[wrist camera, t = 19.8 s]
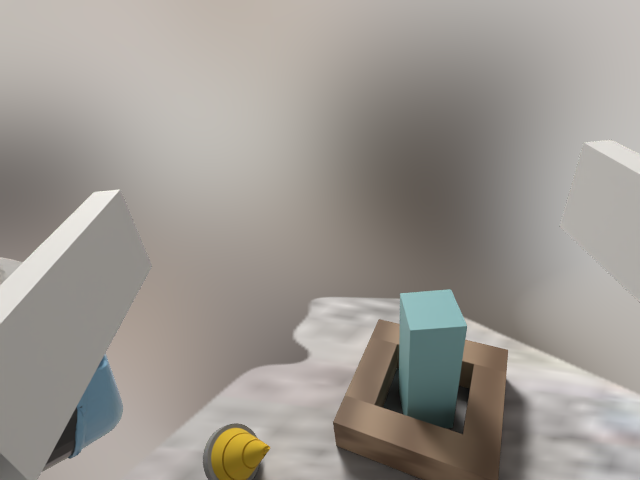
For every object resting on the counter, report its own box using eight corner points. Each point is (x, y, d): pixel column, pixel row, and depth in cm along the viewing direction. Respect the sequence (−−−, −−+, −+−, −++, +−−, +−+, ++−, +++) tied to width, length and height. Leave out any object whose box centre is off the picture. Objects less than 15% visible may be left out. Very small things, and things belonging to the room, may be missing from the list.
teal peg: (406, 430, 39) (410, 330, 31) (398, 391, 42) (400, 293, 35) (452, 427, 38) (467, 326, 31) (440, 388, 42) (450, 289, 35)
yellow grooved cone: (243, 429, 41) (296, 413, 34) (241, 490, 38) (298, 484, 32) (194, 428, 38) (241, 410, 32) (187, 493, 35) (237, 488, 29)
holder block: (336, 445, 38) (333, 422, 36) (379, 342, 48) (379, 319, 46) (491, 506, 33) (498, 482, 30) (502, 374, 43) (508, 350, 41)
